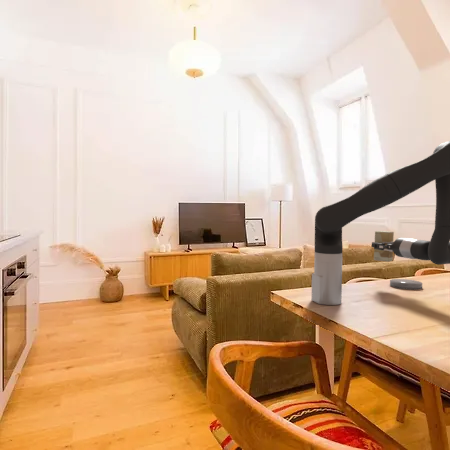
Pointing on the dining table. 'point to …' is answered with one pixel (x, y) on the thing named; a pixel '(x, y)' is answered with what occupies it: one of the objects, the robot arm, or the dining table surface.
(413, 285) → the stand
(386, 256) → the skincare box
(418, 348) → the dining table surface
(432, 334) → the dining table surface
